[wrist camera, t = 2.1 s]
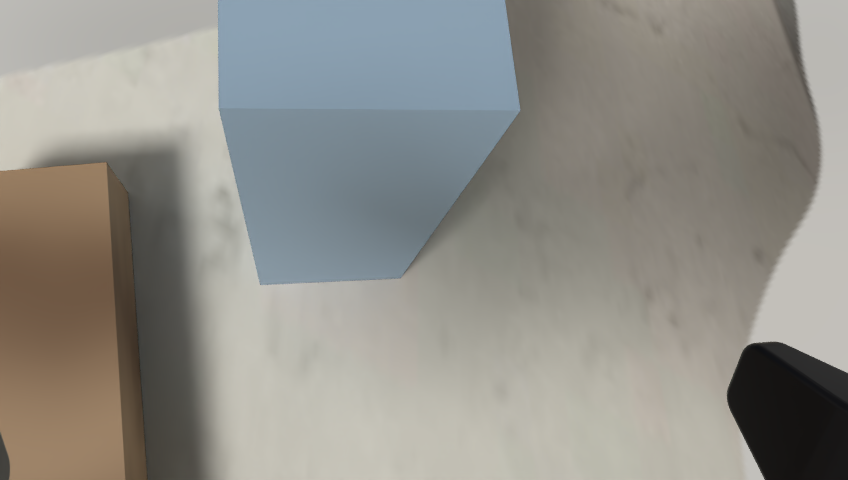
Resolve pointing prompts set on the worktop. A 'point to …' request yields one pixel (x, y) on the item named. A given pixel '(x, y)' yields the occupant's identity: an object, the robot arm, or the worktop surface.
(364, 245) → the post
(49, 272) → the rail
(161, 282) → the worktop surface
